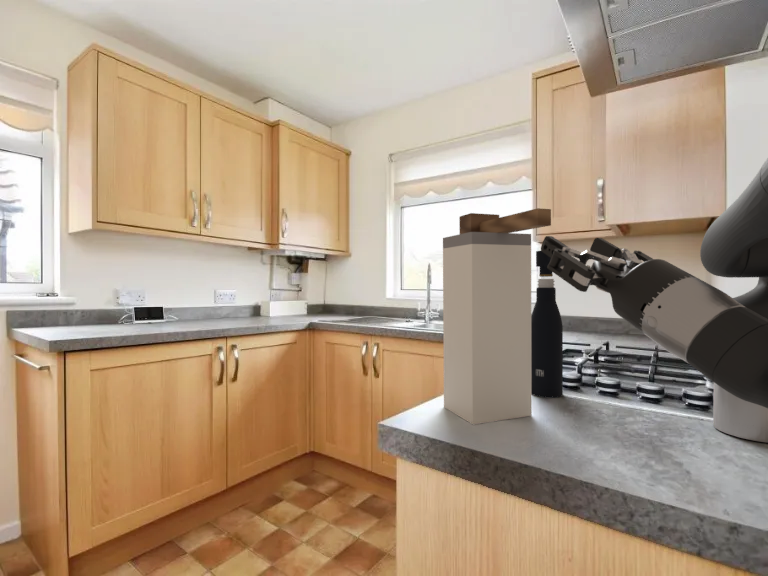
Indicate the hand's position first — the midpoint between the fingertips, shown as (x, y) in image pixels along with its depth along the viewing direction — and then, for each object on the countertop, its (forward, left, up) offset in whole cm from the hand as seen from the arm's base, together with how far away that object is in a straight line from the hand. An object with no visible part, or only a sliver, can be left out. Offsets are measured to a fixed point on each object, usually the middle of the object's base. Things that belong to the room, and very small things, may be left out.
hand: (570, 243), depth 55 cm
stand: (-7, -18, -29) cm, 35 cm away
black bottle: (-26, -16, -29) cm, 43 cm away
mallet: (-5, -13, +3) cm, 14 cm away
